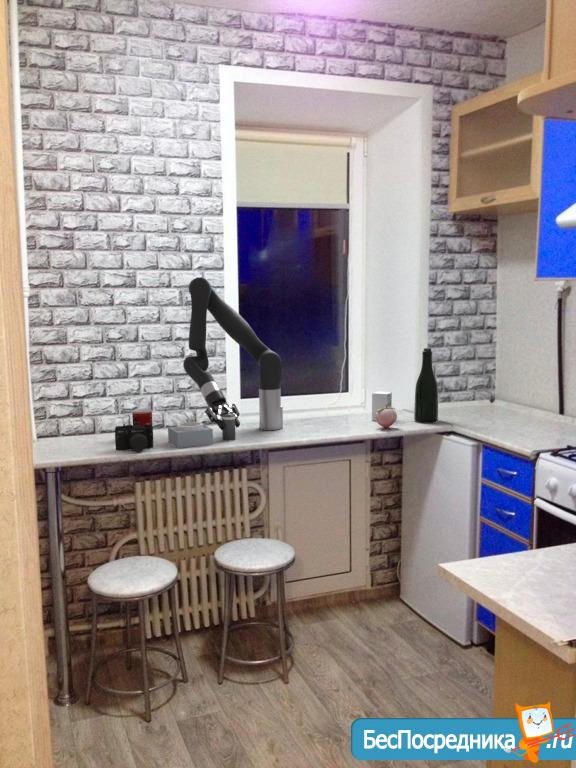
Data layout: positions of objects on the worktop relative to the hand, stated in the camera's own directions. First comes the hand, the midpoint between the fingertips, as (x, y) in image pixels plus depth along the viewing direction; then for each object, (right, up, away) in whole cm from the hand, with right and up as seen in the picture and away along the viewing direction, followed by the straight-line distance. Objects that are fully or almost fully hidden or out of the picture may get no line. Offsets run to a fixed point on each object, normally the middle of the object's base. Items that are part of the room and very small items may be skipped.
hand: (231, 427), depth 267 cm
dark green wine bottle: (+85, 0, +36) cm, 92 cm away
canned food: (-36, -5, +7) cm, 37 cm away
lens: (-1, -5, +2) cm, 5 cm away
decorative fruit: (+64, -2, +21) cm, 68 cm away
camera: (-34, -8, -16) cm, 39 cm away
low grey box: (-15, -6, -5) cm, 17 cm away
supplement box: (+65, +1, +41) cm, 77 cm away
